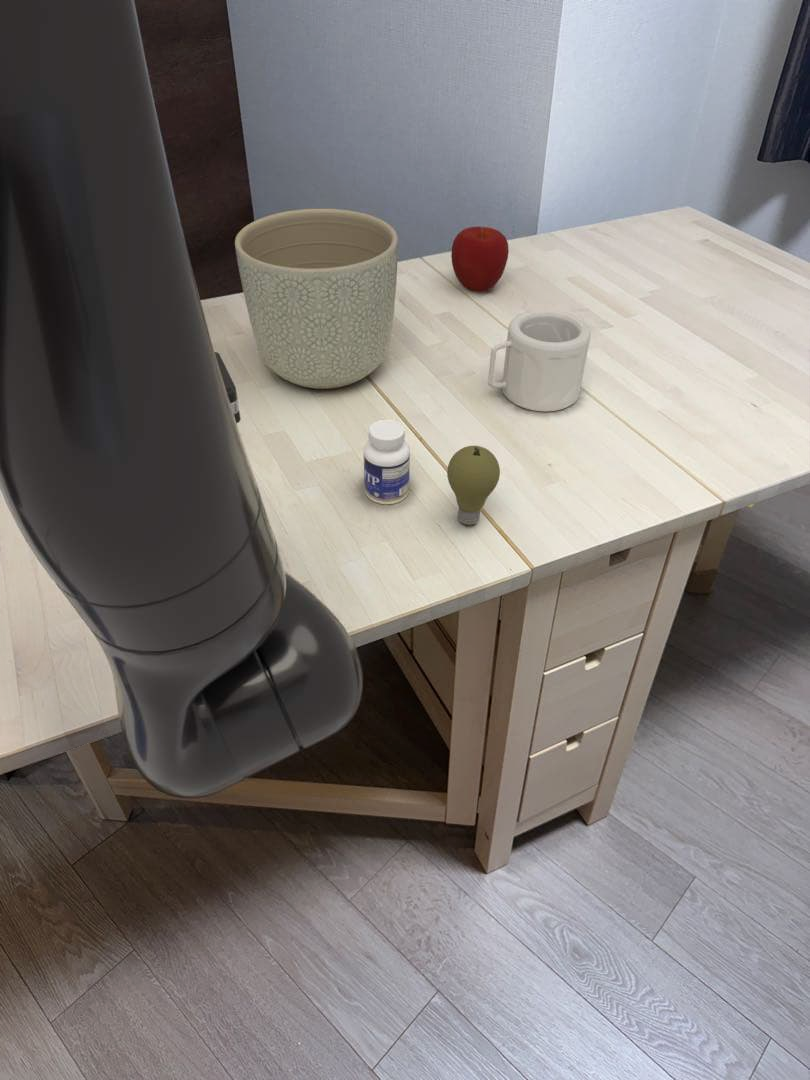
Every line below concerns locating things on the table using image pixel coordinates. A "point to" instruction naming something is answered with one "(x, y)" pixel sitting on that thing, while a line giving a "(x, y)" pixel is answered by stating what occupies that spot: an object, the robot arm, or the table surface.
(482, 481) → the light bulb
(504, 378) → the mug
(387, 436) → the pill bottle
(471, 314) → the table surface
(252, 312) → the planter
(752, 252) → the table surface
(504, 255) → the apple
